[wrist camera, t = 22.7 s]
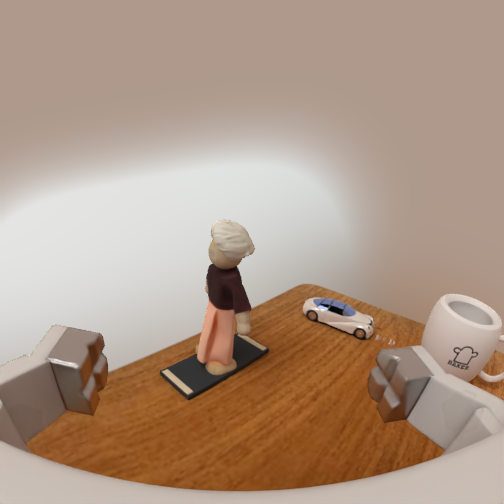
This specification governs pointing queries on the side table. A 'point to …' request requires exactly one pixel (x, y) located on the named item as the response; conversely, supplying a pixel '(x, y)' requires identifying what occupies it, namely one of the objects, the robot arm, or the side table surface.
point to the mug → (463, 336)
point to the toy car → (339, 316)
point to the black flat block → (196, 375)
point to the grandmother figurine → (225, 297)
